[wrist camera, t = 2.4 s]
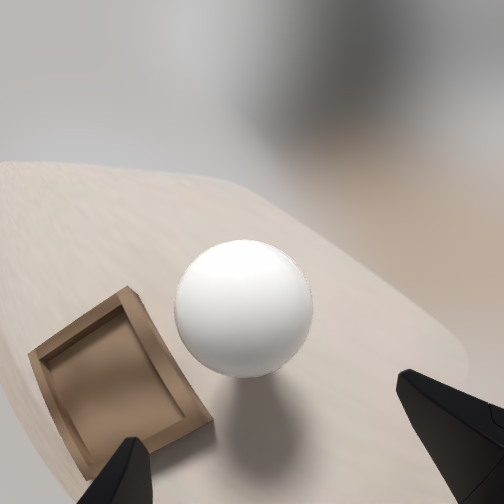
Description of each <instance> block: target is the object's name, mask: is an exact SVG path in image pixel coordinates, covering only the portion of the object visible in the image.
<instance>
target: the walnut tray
mask: <svg viewBox="0 0 504 504" xmlns="http://www.w3.org/2000/svg"><path fill="white" fill-rule="evenodd" d="M28 357H29V360H30V363H31V366H32V369H33V372H34V375H35V377H36V380H37V383H38V385H39V388H40V390H41V393H42V395H43V398H44V400H45V403H46V405H47V407H48V410H49V412H50V414H51V416H52V419H53V421H54V423H55V425H56V427H57V429H58V431H59V433H60V435H61V437H62V439H63V441H64V443H65V445H66V447H67V449H68V451H69V453H70V454H71V456H72V458H73V460H74V461H75V463H76V465H77V467H78V468H79V470H80V472H81V473H82V475H83V477H84V478H85V480H86V481H88V480H91V479H93V478H96V477H97V476H98V474H99V473H100V471H101V470H102V469H103V467H104V466H105V465H106V463H107V462H108V461H109V459H110V458H111V457H112V455H113V454H114V453H115V451H116V450H117V448H118V447H119V446H120V444H121V443H122V442H123V440H124V439H125V438H126V437H138V438H139V439H140V440H141V442H142V443H143V444H144V446H145V447H146V448H147V450H148V452H149V454H150V453H152V452H154V451H156V450H158V449H160V448H162V447H164V446H166V445H168V444H169V443H171V442H173V441H175V440H177V439H179V438H181V437H183V436H185V435H186V434H188V433H190V432H192V431H194V430H195V429H197V428H199V427H201V426H202V425H204V424H206V423H208V422H209V421H211V420H213V418H212V416H211V415H210V414H209V412H208V411H207V409H206V408H205V406H204V405H203V403H202V402H201V400H200V399H199V397H198V396H197V394H196V393H195V391H194V390H193V388H192V387H191V385H190V384H189V382H188V381H187V379H186V377H185V376H184V374H183V373H182V371H181V370H180V368H179V366H178V365H177V363H176V361H175V360H174V358H173V356H172V355H171V353H170V351H169V350H168V348H167V346H166V345H165V343H164V341H163V339H162V338H161V336H160V334H159V332H158V331H157V329H156V327H155V325H154V324H153V322H152V320H151V318H150V316H149V314H148V313H147V311H146V309H145V307H144V305H143V303H142V301H141V299H140V297H139V295H138V294H137V293H135V292H134V291H133V290H132V289H131V288H129V287H128V286H126V287H124V288H123V289H121V290H120V291H118V292H117V293H115V294H114V295H112V296H111V297H109V298H108V299H106V300H105V301H103V302H102V303H100V304H99V305H97V306H96V307H94V308H93V309H91V310H90V311H88V312H87V313H86V314H84V315H83V316H81V317H80V318H78V319H77V320H75V321H74V322H72V323H71V324H69V325H68V326H67V327H65V328H64V329H62V330H61V331H59V332H58V333H57V334H55V335H54V336H52V337H51V338H49V339H48V340H47V341H45V342H44V343H42V344H41V345H40V346H38V347H37V348H35V349H34V350H33V351H31V352H30V353H28Z"/></svg>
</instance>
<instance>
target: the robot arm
mask: <svg viewBox="0 0 504 504" xmlns="http://www.w3.org/2000/svg"><path fill="white" fill-rule="evenodd" d="M396 392H397V395H398V397H399V399H400V401H401V403H402V405H403V408H404V410H405V412H406V414H407V416H408V418H409V421H410V423H411V425H412V427H413V428H414V430H415V432H416V433H417V435H418V437H419V438H420V440H421V441H422V443H423V445H424V446H425V448H426V450H427V451H428V453H429V455H430V456H431V458H432V460H433V461H434V463H435V465H436V466H437V468H438V470H439V471H440V473H441V475H442V476H443V478H444V480H445V481H446V483H447V485H448V487H449V488H450V490H451V492H452V494H453V495H454V497H455V499H456V501H457V502H458V504H504V409H503V408H501V407H498V406H495V405H493V404H490V403H489V404H488V402H485V401H483V400H480V399H478V398H476V397H473V396H471V395H469V394H466V393H464V392H462V391H459V390H457V389H455V388H452V387H450V386H448V385H445V384H443V383H441V382H439V381H436V380H434V379H432V378H430V377H427V376H425V375H423V374H421V373H418V372H416V371H414V370H412V369H407V370H404V371H402V372H400V373H399V374H398V380H397V386H396ZM77 504H153V490H152V480H151V470H150V459H149V452H148V450H147V448H146V447H145V446H144V444H143V443H142V442H141V440H140V439H139V438H138V437H126V438H125V439H124V440H123V442H122V443H121V444H120V446H119V447H118V448H117V450H116V451H115V453H114V454H113V455H112V457H111V458H110V459H109V461H108V462H107V463H106V465H105V466H104V467H103V469H102V470H101V471H100V473H99V474H98V476H97V477H96V478H95V480H94V481H93V482H92V484H91V485H90V486H89V488H88V489H87V490H86V492H85V493H84V494H83V496H82V497H81V498H80V500H79V501H78V502H77Z"/></svg>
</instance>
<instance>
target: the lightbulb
mask: <svg viewBox="0 0 504 504" xmlns="http://www.w3.org/2000/svg"><path fill="white" fill-rule="evenodd" d="M174 318H175V323H176V327H177V331H178V333H179V336H180V338H181V340H182V342H183V344H184V345H185V347H186V348H187V350H188V351H189V352H190V353H191V355H192V356H193V357H194V358H195V359H196V360H198V361H199V362H200V363H201V364H202V365H204V366H205V367H207V368H209V369H210V370H212V371H214V372H217V373H219V374H222V375H225V376H229V377H235V378H253V377H259V376H263V375H266V374H269V373H271V372H273V371H276V370H277V369H279V368H281V367H282V366H284V365H285V364H287V363H288V362H289V361H290V360H291V359H292V358H293V357H294V356H295V355H296V354H297V353H298V352H299V350H300V349H301V348H302V346H303V345H304V343H305V341H306V339H307V337H308V334H309V332H310V329H311V325H312V320H313V298H312V293H311V289H310V286H309V283H308V281H307V279H306V277H305V275H304V273H303V272H302V270H301V269H300V268H299V266H298V265H297V264H296V263H295V262H294V261H293V260H292V259H291V258H290V257H289V256H288V255H287V254H285V253H284V252H282V251H281V250H279V249H277V248H276V247H273V246H271V245H269V244H266V243H263V242H259V241H254V240H233V241H228V242H224V243H221V244H218V245H216V246H213V247H211V248H210V249H208V250H206V251H205V252H203V253H202V254H201V255H199V256H198V257H197V258H196V259H195V260H194V261H193V262H192V263H191V264H190V265H189V267H188V268H187V269H186V271H185V272H184V274H183V276H182V278H181V280H180V282H179V284H178V287H177V290H176V294H175V300H174Z"/></svg>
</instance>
